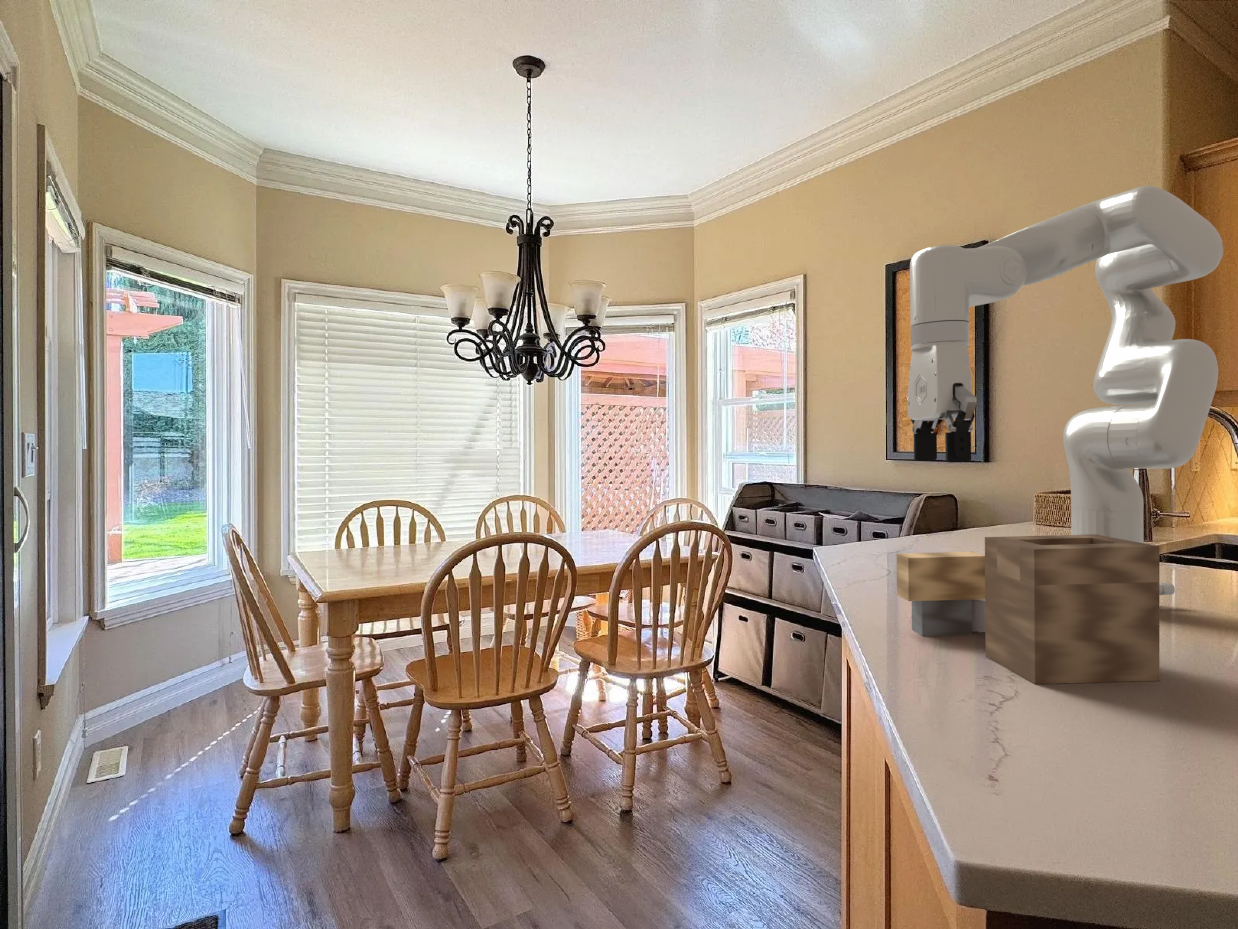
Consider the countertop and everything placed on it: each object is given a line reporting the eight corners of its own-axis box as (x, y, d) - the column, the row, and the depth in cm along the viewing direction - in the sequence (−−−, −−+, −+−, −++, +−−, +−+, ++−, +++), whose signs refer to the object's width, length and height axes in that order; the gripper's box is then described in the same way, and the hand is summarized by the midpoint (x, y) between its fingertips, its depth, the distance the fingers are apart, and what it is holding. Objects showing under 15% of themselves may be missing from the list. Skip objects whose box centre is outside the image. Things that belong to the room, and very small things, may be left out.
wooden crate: (1096, 653, 91) (1095, 534, 90) (1159, 680, 80) (1159, 546, 80) (985, 656, 91) (984, 537, 90) (1034, 684, 80) (1034, 549, 80)
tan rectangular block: (972, 627, 104) (972, 551, 104) (987, 634, 100) (986, 556, 100) (897, 629, 104) (896, 553, 104) (908, 637, 100) (908, 558, 100)
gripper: (888, 347, 109) (889, 460, 110) (942, 329, 92) (943, 463, 93) (937, 346, 110) (938, 459, 110) (1000, 328, 92) (1001, 462, 93)
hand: (941, 461), depth 101 cm, fingers open, 9 cm apart
